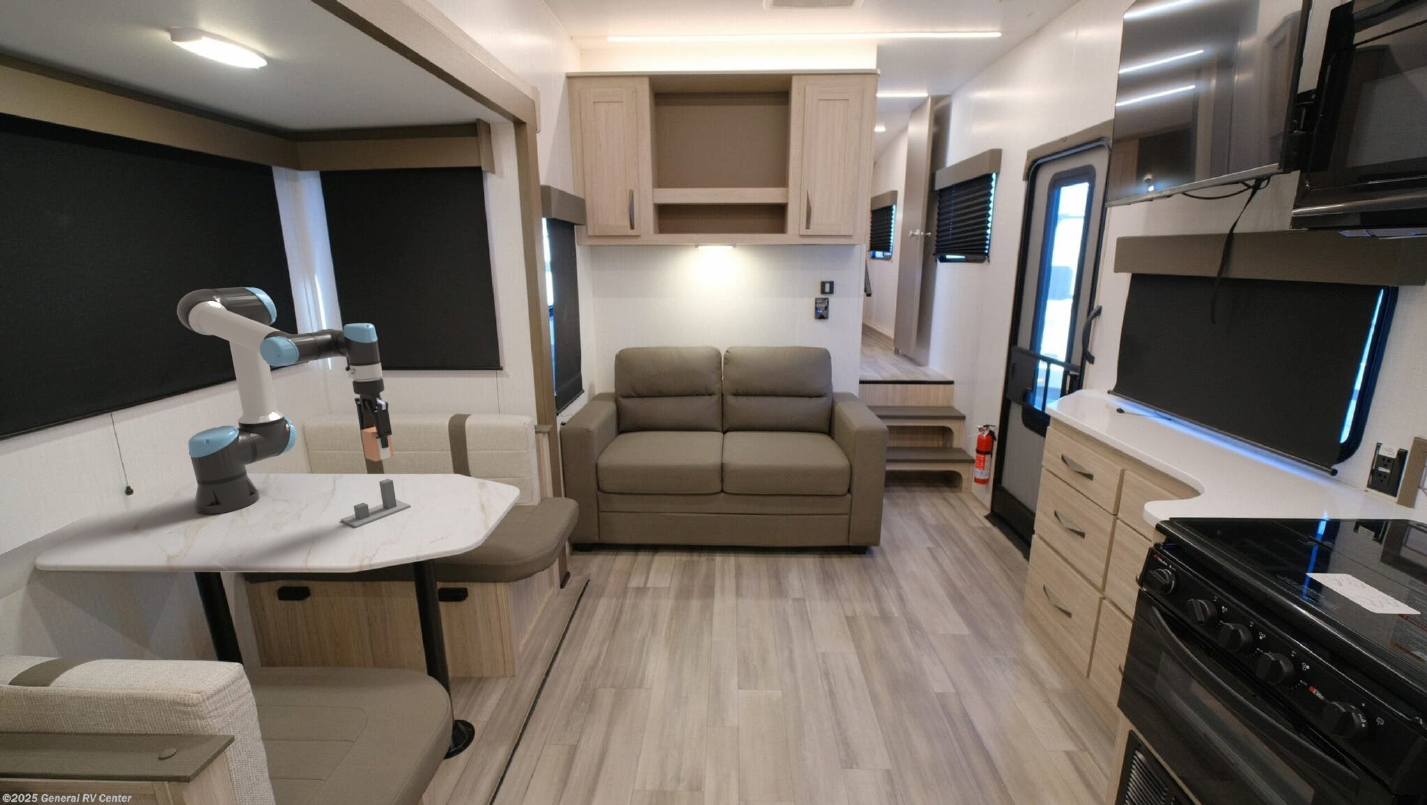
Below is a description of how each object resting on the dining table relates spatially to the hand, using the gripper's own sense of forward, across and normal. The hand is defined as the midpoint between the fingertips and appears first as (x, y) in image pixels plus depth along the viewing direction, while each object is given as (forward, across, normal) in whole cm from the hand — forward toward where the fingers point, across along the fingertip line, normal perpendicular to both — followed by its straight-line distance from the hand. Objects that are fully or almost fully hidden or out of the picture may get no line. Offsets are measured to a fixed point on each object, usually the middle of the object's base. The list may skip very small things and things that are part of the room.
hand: (379, 456), depth 166 cm
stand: (+17, 0, -3) cm, 17 cm away
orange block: (0, 0, 0) cm, 0 cm away
